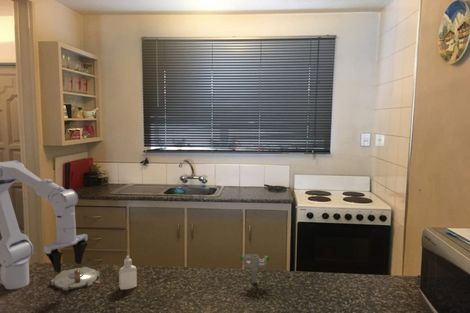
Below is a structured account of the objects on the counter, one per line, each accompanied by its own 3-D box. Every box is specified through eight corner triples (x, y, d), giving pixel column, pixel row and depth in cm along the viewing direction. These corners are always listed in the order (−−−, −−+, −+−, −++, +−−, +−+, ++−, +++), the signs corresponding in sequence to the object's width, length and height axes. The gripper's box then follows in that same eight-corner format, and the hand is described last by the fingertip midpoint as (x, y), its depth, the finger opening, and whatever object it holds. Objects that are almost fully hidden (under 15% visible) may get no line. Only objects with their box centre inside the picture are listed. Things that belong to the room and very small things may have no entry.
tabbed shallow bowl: (50, 276, 126) (50, 262, 126) (96, 268, 134) (96, 254, 133) (52, 293, 114) (51, 277, 113) (102, 283, 121) (102, 268, 121)
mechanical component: (268, 284, 125) (269, 257, 124) (240, 283, 125) (240, 257, 124) (267, 280, 127) (268, 254, 127) (240, 280, 128) (240, 253, 127)
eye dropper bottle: (134, 292, 117) (133, 258, 116) (117, 292, 117) (117, 258, 116) (138, 286, 121) (137, 253, 120) (122, 286, 122) (122, 253, 121)
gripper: (53, 235, 104) (55, 278, 106) (92, 223, 117) (94, 261, 118) (38, 232, 108) (41, 274, 109) (79, 220, 120) (81, 258, 122)
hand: (68, 267), depth 114 cm, fingers open, 7 cm apart
